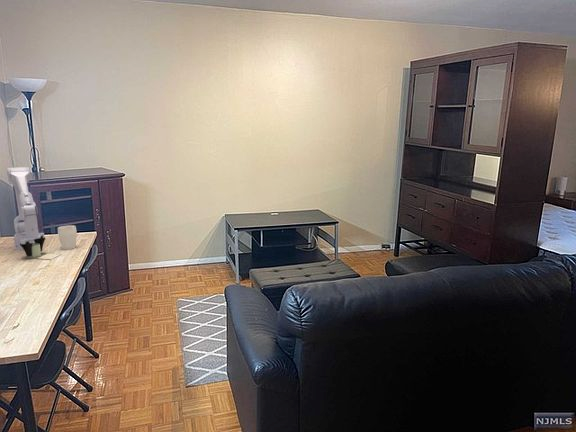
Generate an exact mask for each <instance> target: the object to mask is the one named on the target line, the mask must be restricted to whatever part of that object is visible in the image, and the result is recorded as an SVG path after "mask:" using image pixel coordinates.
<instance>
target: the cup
mask: <svg viewBox="0 0 576 432" xmlns="http://www.w3.org/2000/svg"><path fill="white" fill-rule="evenodd" d="M77 233H78V232H77V227H76V225H74V224H73V225H72V224H69V225H63V226H62V225H61V226H59V227H57V235H58V239H59V242H60V245H61V249H62V250H72V249H76V246H77Z"/></svg>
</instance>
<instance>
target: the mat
mask: <svg viewBox="0 0 576 432" xmlns="http://www.w3.org/2000/svg"><path fill="white" fill-rule="evenodd" d="M61 256H63V254H62V253H61V254H60V253H43V252H41V256H39V257H34V258H31V257H29V256H27V255H25V256H23V257H22V259H29V260H45V261H52V260H53V259H55V258H59V257H61Z"/></svg>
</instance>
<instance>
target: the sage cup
mask: <svg viewBox="0 0 576 432" xmlns="http://www.w3.org/2000/svg"><path fill="white" fill-rule="evenodd" d="M41 253H42V252H41V250H40V244H39V243H33V245H32V256H29V257H31V258H34V257H39V256H41Z"/></svg>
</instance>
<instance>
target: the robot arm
mask: <svg viewBox="0 0 576 432" xmlns="http://www.w3.org/2000/svg"><path fill="white" fill-rule="evenodd" d="M6 175H7V182H8V183H9V184H10V185H13V188H14V192H15V197H16V203H17V204H16V205H17V211H18V216H16V217H15V218H14V220H13V226H14V231H15V234H14V236H13V243H14V250H16V251H17V250H18V251H24V252H25V256H32V245H33V243H39V244H40V250H41V253H43V248H44V247H43V246H44V243H45V241H46V237H45V233H44V232H39V226H38V217H37V216H38V213H39V212H38V207H37V205H36V202H35V201H34V198H33V195H32V193H31V192H30V191H29V187H28V183H29V182H30V179H31V170H30V167H28V166H20V167H7V168H6Z"/></svg>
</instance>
